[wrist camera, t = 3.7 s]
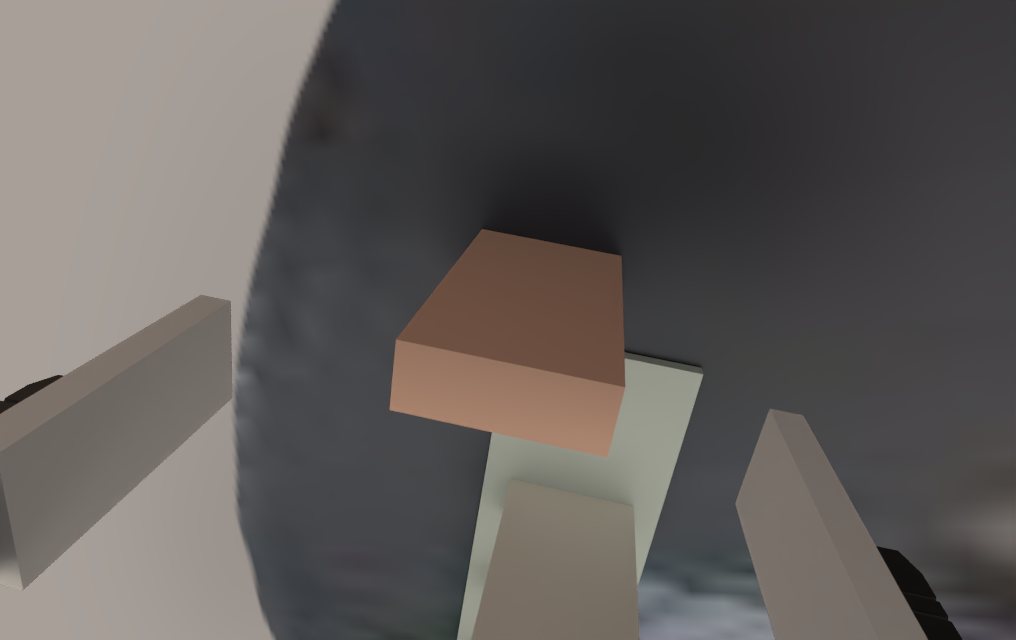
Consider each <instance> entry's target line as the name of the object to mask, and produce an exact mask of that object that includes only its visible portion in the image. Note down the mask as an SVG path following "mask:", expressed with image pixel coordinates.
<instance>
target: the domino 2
mask: <svg viewBox="0 0 1016 640" xmlns="http://www.w3.org/2000/svg"><path fill="white" fill-rule="evenodd" d="M471 640H639V619H638V595H637V571H636V547H635V522H634V506H631V505H627V504H622V503H618V502H613V501H609V500H604V499H600V498H595V497H591V496H586V495H582V494H577V493H573V492H568V491H564V490H559V489H555V488H551V487H546V486H542V485H537V484H533V483H528V482H524V481H519V480H515V479H511V481H510V485H509V489H508V493H507V497H506V501H505V505H504V509H503V513H502V517H501V521H500V525H499V529H498V533H497V537H496V541H495V545H494V549H493V553H492V558H491V562H490V566H489V570H488V574H487V578H486V582H485V586H484V590H483V594H482V598H481V602H480V606H479V610H478V614H477V618H476V622H475V626H474V630H473V634H472V638H471Z"/></svg>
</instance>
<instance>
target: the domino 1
mask: <svg viewBox="0 0 1016 640" xmlns="http://www.w3.org/2000/svg"><path fill="white" fill-rule="evenodd" d="M624 391H625V356H624V323H623V290H622V258H621V256H620V255H614V254H609V253H604V252H599V251H594V250H588V249H583V248H578V247H573V246H568V245H562V244H557V243H552V242H547V241H542V240H536V239H531V238H526V237H521V236H516V235H510V234H505V233H500V232H495V231H490V230H484V229H482V230H481V231H480V232H479V234H478V235H477V236H476V237H475V239H474V240H473V241H472V243H471V244H470V245H469V246H468V248H467V249H466V250H465V252H464V253H463V254H462V255H461V257H460V258H459V259H458V261H457V262H456V263H455V264H454V266H453V267H452V268H451V270H450V271H449V272H448V273H447V275H446V276H445V277H444V279H443V280H442V281H441V282H440V284H439V285H438V286H437V288H436V289H435V290H434V291H433V293H432V294H431V295H430V297H429V298H428V299H427V300H426V302H425V303H424V304H423V306H422V307H421V308H420V309H419V311H418V312H417V313H416V315H415V316H414V317H413V318H412V320H411V321H410V322H409V324H408V325H407V326H406V327H405V329H404V330H403V331H402V333H401V334H400V335H399V336H398V338H397V339H396V346H395V357H394V368H393V378H392V389H391V400H390V410H392V411H397V412H402V413H406V414H411V415H415V416H420V417H425V418H429V419H434V420H438V421H443V422H447V423H452V424H457V425H461V426H466V427H470V428H475V429H479V430H484V431H489V432H493V433H498V434H502V435H507V436H512V437H516V438H521V439H525V440H530V441H534V442H539V443H544V444H548V445H553V446H557V447H562V448H567V449H571V450H576V451H580V452H585V453H589V454H594V455H599V456H603V457H608V453H609V449H610V446H611V442H612V438H613V434H614V430H615V426H616V422H617V418H618V414H619V411H620V407H621V403H622V399H623V395H624Z"/></svg>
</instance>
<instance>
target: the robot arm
mask: <svg viewBox="0 0 1016 640" xmlns="http://www.w3.org/2000/svg"><path fill="white" fill-rule="evenodd" d="M231 398H232V353H231V302H230V301H229V300H223V299H219V298H214V297H208V296H204V295H200V296H198V297H197V298H195V299H193V300H192V301H190V302H188V303H187V304H185V305H183V306H181V307H180V308H178V309H176V310H175V311H173V312H171V313H170V314H168V315H166V316H165V317H163V318H161V319H159V320H158V321H156V322H154V323H153V324H151V325H149V326H148V327H146V328H144V329H143V330H141V331H139V332H138V333H136V334H134V335H132V336H131V337H129V338H127V339H126V340H124V341H122V342H121V343H119V344H117V345H116V346H114V347H112V348H111V349H109V350H107V351H105V352H104V353H102V354H100V355H99V356H97V357H95V358H94V359H92V360H90V361H89V362H87V363H85V364H84V365H82V366H80V367H78V368H77V369H75V370H73V371H72V372H70V373H68V374H67V375H65V376H62V375H57V376H54V377H51V378H47V379H44V380H41V381H38V382H35V383H32V384H29V385H27V386H25V387H24V388H22V389H20V390H18V391H17V392H15V393H13V394H11V395H10V396H8V397H6V398H5V400H4V401H0V585H4V586H8V587H13V588H17V589H21V590H24V589H25V588H26V587H27V586H28V585H29V584H30V583H31V582H33V580H35V579H36V578H37V577H38V576H39V575H40V574H41V573H42V572H43V571H44V570H45V569H47V568H48V567H49V566H50V565H51V564H52V563H53V562H54V561H55V560H56V559H57V558H59V557H60V556H61V555H62V554H63V553H64V552H65V551H66V550H67V549H68V548H69V547H71V546H72V544H74V543H75V542H76V541H77V540H78V539H79V538H80V537H81V536H83V534H84V533H86V532H87V531H88V530H89V529H90V528H91V527H92V526H93V525H94V524H96V522H98V521H99V520H100V519H101V518H102V517H103V516H104V515H105V514H106V513H107V512H109V511H110V510H111V509H112V508H113V507H114V506H115V505H116V504H117V503H118V502H119V501H121V500H122V499H123V498H124V497H125V496H126V495H127V494H128V493H129V492H130V491H131V490H133V489H134V488H135V487H136V486H137V485H138V484H139V483H140V482H141V481H142V480H143V479H144V478H145V477H147V476H148V475H149V474H150V473H151V472H152V471H153V470H154V469H155V468H156V467H157V466H159V465H160V464H161V463H162V462H163V461H164V460H165V459H166V458H167V457H168V456H169V455H170V454H172V453H173V452H174V451H175V450H176V449H177V448H178V447H179V446H180V445H181V444H183V443H184V442H185V441H186V440H187V439H188V438H189V437H190V436H191V435H192V434H193V433H194V432H196V431H197V430H198V429H199V428H200V427H201V426H202V425H203V424H204V423H205V422H206V421H207V420H209V419H210V418H211V417H212V416H213V415H214V414H215V413H216V412H217V411H218V410H220V409H221V408H222V407H223V406H224V405H225V404H226V403H227V402H228V401H229V400H230V399H231ZM735 505H736V508H737V511H738V515H739V518H740V522H741V525H742V528H743V532H744V535H745V538H746V542H747V545H748V549H749V552H750V555H751V559H752V562H753V566H754V569H755V572H756V576H757V579H758V583H759V586H760V589H761V593H762V596H763V599H764V603H765V606H766V610H767V613H768V616H769V620H770V623H771V627H772V630H773V633H774V637H775V640H962V638H961V636H960V635H959V633H958V632H957V630H956V628H955V627H954V625H953V623H952V622H950V621H948V615H947V614H946V612H945V610H944V609H943V607H942V606H941V604H940V602H938V601H936V596H935V594H934V593H933V591H932V589H931V588H930V586H929V584H928V583H927V581H926V580H925V578H924V576H923V575H922V573H921V572H920V571H919V570H917V569H916V568H915V567H914V566H913V565H912V564H911V563H910V562H909V561H908V560H907V559H906V558H905V557H904V556H903V555H902V554H901V553H900V552H899V551H896V550H891V549H887V548H882V547H877V546H876V545H875V544H874V542H873V540H872V538H871V536H870V535H869V533H868V531H867V529H866V527H865V526H864V524H863V522H862V520H861V519H860V517H859V515H858V513H857V511H856V510H855V508H854V506H853V504H852V502H851V501H850V499H849V497H848V495H847V493H846V492H845V490H844V488H843V486H842V484H841V483H840V481H839V479H838V477H837V475H836V474H835V472H834V470H833V468H832V466H831V465H830V463H829V461H828V459H827V457H826V456H825V454H824V452H823V450H822V448H821V447H820V445H819V443H818V441H817V439H816V438H815V436H814V434H813V432H812V431H811V429H810V427H809V425H808V423H807V422H806V420H805V418H804V416H803V415H799V414H794V413H789V412H784V411H779V410H774V409H769V412H768V415H767V417H766V420H765V423H764V426H763V428H762V431H761V434H760V437H759V439H758V442H757V445H756V448H755V450H754V453H753V456H752V459H751V461H750V464H749V467H748V470H747V472H746V475H745V478H744V481H743V483H742V486H741V489H740V492H739V494H738V497H737V500H736V503H735Z"/></svg>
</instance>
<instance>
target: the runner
mask: <svg viewBox="0 0 1016 640" xmlns="http://www.w3.org/2000/svg"><path fill="white" fill-rule="evenodd" d="M624 356H625V391H624V395H623V399H622V403H621V407H620V411H619V414H618V418H617V422H616V426H615V430H614V434H613V438H612V442H611V446H610V449H609V453H608V457H603V456H599V455H594V454H589V453H585V452H580V451H576V450H571V449H567V448H562V447H557V446H553V445H548V444H544V443H539V442H534V441H530V440H525V439H521V438H516V437H512V436H507V435H502V434H498V433H493V432H492V436H491V442H490V447H489V453H488V459H487V465H486V471H485V477H484V483H483V489H482V495H481V501H480V507H479V513H478V519H477V524H476V530H475V536H474V542H473V548H472V554H471V560H470V566H469V572H468V578H467V584H466V590H465V595H464V601H463V607H462V613H461V619H460V625H459V631H458V637H457V640H471V638H472V634H473V630H474V626H475V622H476V618H477V614H478V610H479V606H480V602H481V598H482V594H483V590H484V586H485V582H486V578H487V574H488V570H489V566H490V562H491V558H492V553H493V549H494V545H495V541H496V537H497V533H498V529H499V525H500V521H501V517H502V513H503V509H504V505H505V501H506V497H507V493H508V489H509V485H510V481H511V479H515V480H519V481H524V482H528V483H533V484H537V485H542V486H546V487H551V488H555V489H559V490H564V491H568V492H573V493H577V494H582V495H586V496H591V497H595V498H600V499H604V500H609V501H613V502H618V503H622V504H627V505H631V506H634V522H635V547H636V571H637V587H638V584H639V580H640V577H641V574H642V571H643V568H644V564H645V561H646V558H647V555H648V551H649V548H650V545H651V542H652V538H653V535H654V532H655V529H656V526H657V522H658V519H659V516H660V513H661V509H662V506H663V503H664V500H665V497H666V493H667V490H668V487H669V484H670V480H671V477H672V474H673V471H674V467H675V464H676V461H677V458H678V455H679V451H680V448H681V445H682V442H683V438H684V435H685V432H686V429H687V426H688V422H689V419H690V416H691V413H692V409H693V406H694V403H695V400H696V396H697V393H698V390H699V387H700V384H701V380H702V377H703V372H702V368H700V367H695V366H690V365H685V364H680V363H675V362H670V361H665V360H660V359H656V358H651V357H646V356H641V355H636V354H631V353H626V352H624Z"/></svg>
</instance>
